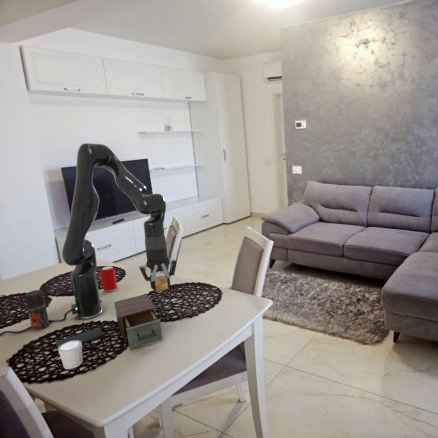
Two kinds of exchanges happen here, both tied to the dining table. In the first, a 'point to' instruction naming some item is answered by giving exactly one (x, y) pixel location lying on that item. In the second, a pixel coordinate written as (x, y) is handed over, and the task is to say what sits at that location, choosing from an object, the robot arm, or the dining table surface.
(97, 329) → the phone
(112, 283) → the beverage can
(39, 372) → the dining table surface
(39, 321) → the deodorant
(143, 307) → the cabinet
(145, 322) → the drawer
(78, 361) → the white cup
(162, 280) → the block
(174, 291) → the dining table surface
